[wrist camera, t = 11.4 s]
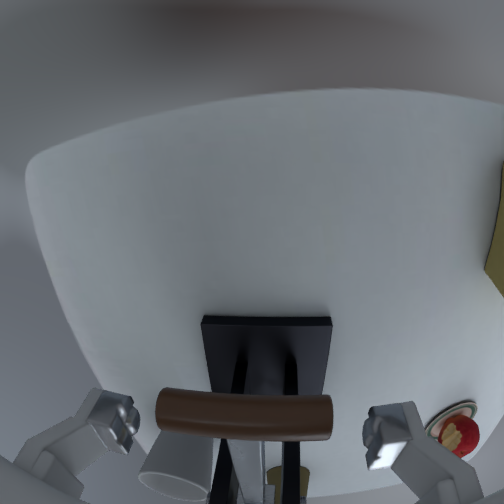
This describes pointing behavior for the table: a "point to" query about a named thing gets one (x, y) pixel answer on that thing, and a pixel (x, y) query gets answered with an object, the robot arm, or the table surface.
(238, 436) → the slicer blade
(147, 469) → the cup
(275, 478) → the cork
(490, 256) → the cheese
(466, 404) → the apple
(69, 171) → the table surface
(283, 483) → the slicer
